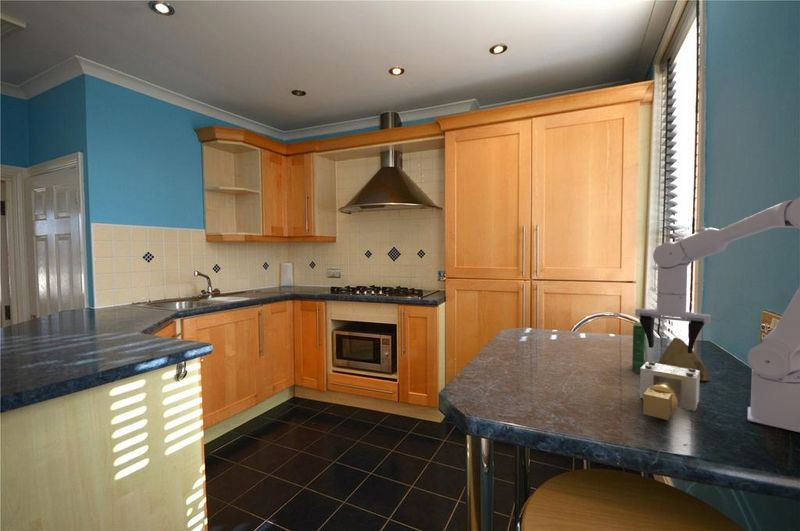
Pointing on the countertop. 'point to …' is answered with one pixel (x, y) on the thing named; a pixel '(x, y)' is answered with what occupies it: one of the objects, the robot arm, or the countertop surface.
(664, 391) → the gold rounded block
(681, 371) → the housing
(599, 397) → the countertop surface
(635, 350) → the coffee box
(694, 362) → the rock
